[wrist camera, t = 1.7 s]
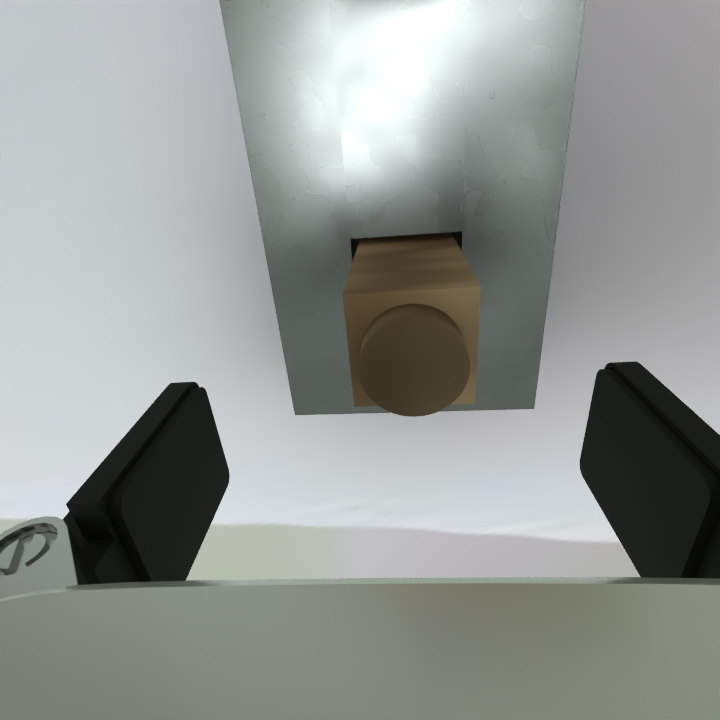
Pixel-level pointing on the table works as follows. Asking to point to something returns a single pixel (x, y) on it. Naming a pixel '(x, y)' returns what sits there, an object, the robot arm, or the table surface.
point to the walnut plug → (412, 324)
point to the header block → (406, 163)
